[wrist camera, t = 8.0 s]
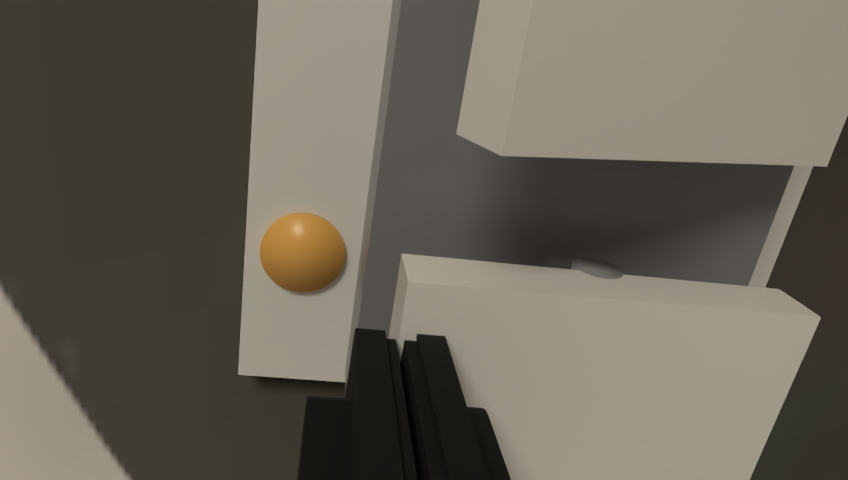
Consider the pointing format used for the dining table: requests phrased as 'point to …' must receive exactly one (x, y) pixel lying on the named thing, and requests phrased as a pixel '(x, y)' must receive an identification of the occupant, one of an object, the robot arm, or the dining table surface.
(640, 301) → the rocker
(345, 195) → the switch unit
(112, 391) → the dining table surface
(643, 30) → the rocker middle
